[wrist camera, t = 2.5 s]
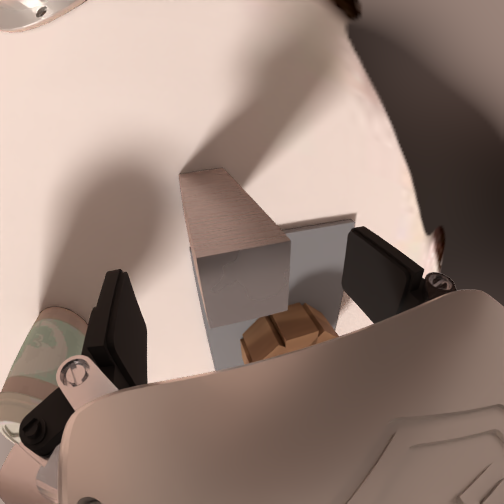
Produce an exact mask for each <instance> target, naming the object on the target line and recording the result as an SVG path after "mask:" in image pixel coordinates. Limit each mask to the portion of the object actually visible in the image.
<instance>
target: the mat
mask: <svg viewBox="0 0 504 504" xmlns="http://www.w3.org/2000/svg"><path fill="white" fill-rule="evenodd" d="M354 225H355V222H354V221H353V220H351V219H349V220H343V221H337V222H330V223H324V224H318V225H312V226H306V227H300V228H294V229H288V230H282V231H283V232H284V233H285V234H286V236H287V237H288V238H289V239H290V240H291V254H290V277H289V297H288V305H291V304H295V303H299V302H300V304H301V305H303V304H304V303H307V304H308V305H310V306H311V307H313V308H315V309H316V310H318V311H320V312H321V313H322V314H323V315H324V317H325V318H326V319H327V321H328V322H329V323H330V325H331V326H332V328H333V329H334V330H335V327H336V323H337V319H338V314H339V310H340V305H341V300H342V296H343V291H344V290H343V288H342V284H341V281H342V274H343V268H344V261H345V253H346V245H347V237H348V233H349V232H350V231H351V229H352V228H354ZM190 253H191V259H192V264H193V270H194V275H195V280H196V286H197V291H198V296H199V300H200V305H201V310H202V315H203V319H204V324H205V328H206V333H207V337H208V342H209V346H210V350H211V354H212V358H213V362H214V367H215V371H218V370H222V369H227V368H231V367H236V366H240V365H244V362H243V359H242V353H241V344H240V339H243V335H242V334H243V333H244V332H245V331H246V330H247V329H248V328H249V327H250V326H251V325H252V324H253V323H254V322H255V321H256V320H257V319H258V318H256V319H251V320H247V321H243V322H239V323H234V324H230V325H225V326H221V327H216V328H211V329H210V328H209V324H208V320H207V316H206V312H205V308H204V304H203V300H202V296H201V292H200V288H199V283H198V279H197V274H196V270H195V265H194V261H193V256H192V251H191V247H190ZM268 316H269V317H270V315H268Z"/></svg>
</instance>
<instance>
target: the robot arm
mask: <svg viewBox="0 0 504 504" xmlns="http://www.w3.org/2000/svg"><path fill="white" fill-rule="evenodd" d="M84 1H86V0H0V31H4V32H9V33H12V32H23V31H26V30H30V29H34V28H37V27H39V26H41V25H44V24H46V23H49V22H51V21H53V20H55V19H56V18H58V17H60V16H62V15H64V14H66V13H67V12H69V11H71V10H72V9H74V8H75V7H77V6H79V5H80V4H82V3H83V2H84ZM423 272H424V269H423V268H422V267H421V266H419V265H418V264H417V263H415V262H414V261H413V260H411V259H410V258H409V257H407V256H406V255H404V254H403V253H402V252H400V251H399V250H398V249H396V248H395V247H393V246H392V245H391V244H389V243H388V242H386V241H385V240H383V239H382V238H381V237H379V236H378V235H376V234H375V233H373V232H372V231H370V230H369V229H367V228H366V227H364V226H362V227H356V228H352V229H351V231H350V232H349V233H348V237H347V245H346V253H345V261H344V268H343V274H342V281H341V284H342V288H343V290H344V291H345V292H346V293H347V294H348V295H349V296H350V297H351V298H352V300H353V301H354V302H355V303H356V304H357V305H358V306H359V307H360V308H361V309H362V311H363V312H364V313H365V314H366V315H367V316H368V317H369V318H370V320H371V321H372V322H373V323H374V324H372V325H370V326H367V327H364V328H362V329H359V330H356V331H353V332H351V333H348V334H345V335H342V336H339V337H337V338H334V339H331V340H328V341H325V342H322V343H319V344H315V345H312V346H309V347H306V348H303V349H299V350H296V351H293V352H289V353H286V354H282V355H279V356H275V357H271V358H268V359H264V360H260V361H256V362H252V363H248V364H244V365H240V366H236V367H231V368H227V369H222V370H218V371H213V372H208V373H203V374H198V375H193V376H188V377H182V378H177V379H171V380H166V381H160V382H155V383H149V384H147V328H146V324H145V322H144V319H143V316H142V314H141V311H140V308H139V305H138V303H137V300H136V297H135V294H134V291H133V288H132V285H131V282H130V279H129V276H128V274H127V272H123V271H122V270H121V269H118V270H113V271H108V272H107V273H106V276H105V279H104V283H103V286H102V289H101V292H100V296H99V299H98V303H97V307H94V308H93V310H92V312H91V316H90V320H89V323H88V327H87V331H86V335H85V339H84V344H83V348H82V353H81V355H76V356H72V357H70V358H68V359H66V360H65V361H64V362H63V363H62V364H61V365H60V367H59V368H58V370H57V373H56V381H57V384H58V386H59V387H58V388H57V389H56V390H54V391H53V392H52V393H51V394H50V395H49V396H48V397H46V398H45V399H44V400H43V401H42V402H41V403H40V404H38V405H37V406H36V407H35V408H34V409H33V410H32V411H31V412H29V413H28V414H27V415H26V416H25V417H24V418H23V420H22V422H21V424H20V427H19V437H20V439H21V442H20V443H19V444H17V443H16V442H15V444H14V446H13V447H12V449H11V451H10V453H9V455H8V456H7V458H6V460H5V462H4V464H3V465H2V467H1V469H0V498H1V499H2V500H3V502H4V503H5V504H504V307H503V306H502V305H501V304H499V303H498V302H497V301H496V300H495V299H493V298H492V297H490V296H489V295H488V294H486V293H485V292H483V291H479V290H472V289H469V290H459V291H457V290H456V287H455V284H454V282H453V281H452V280H451V278H449V277H448V276H446V275H444V274H441V273H437V272H432V273H429V274H427V275H426V277H425V279H423V278H422V276H423Z"/></svg>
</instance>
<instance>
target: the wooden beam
mask: <svg viewBox="0 0 504 504" xmlns="http://www.w3.org/2000/svg"><path fill="white" fill-rule="evenodd" d="M179 181H180V189H181V196H182V203H183V210H184V216H185V222H186V227H187V232H188V237H189V242H190V247H191V251H192V256H193V261H194V265H195V270H196V274H197V279H198V283H199V288H200V292H201V296H202V300H203V304H204V308H205V312H206V316H207V320H208V324H209V328H210V329H211V328H216V327H221V326H225V325H230V324H234V323H239V322H243V321H247V320H251V319H256V318H260V317H264V316H268V315H272V314H276V313H280V312H284V311H287V310H288V297H289V277H290V254H291V240H290V239H289V238H288V237H287V236H286V234H285V233H284V232H283V231H282V230H281V229H280V228H279V227H278V226H277V225H276V224H275V222H274V221H273V220H272V219H271V218H270V217H269V216H268V215H267V214H266V213H265V212H264V211H263V209H262V208H261V207H260V206H259V205H258V204H257V203H256V202H255V201H254V200H253V199H252V198H251V197H250V196H249V195H248V194H247V192H246V191H245V190H244V189H243V188H242V187H241V186H240V185H239V184H238V183H237V182H236V181H235V180H234V179H233V178H232V177H231V176H230V175H229V174H228V173H227V172H226V171H225V170H224V168H218V169H210V170H203V171H196V172H190V173H183V174H179Z"/></svg>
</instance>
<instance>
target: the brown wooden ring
mask: <svg viewBox="0 0 504 504" xmlns="http://www.w3.org/2000/svg"><path fill="white" fill-rule="evenodd" d="M242 335H243V339H240V344H241V353H242V359H243V362H244V364H248V363H252V362H256V361H260V360H264V359H268V358H271V357H275V356H279V355H282V354H286V353H289V352H293V351H296V350H299V349H303V348H306V347H309V346H312V345H315V344H319V343H322V342H325V341H328V340H331V339H334V338H337V337H339V336H338V334H337V333H336V332H335V330H334V329H333V328H332V326H331V325H330V323H329V322H328V321H327V319H326V318H325V317H324V315H323V314H322V313H321V312H320V311H318V310H316V309H315V308H313V307H311V306H310V305H308V304H307V303H304V304H303V305H301V304H300V302H299V303H295V304H291V305H288V310H287V311H284V312H280V313H276V314H272V315H270V317H269V316H264V317H260V318H258V319H257V320H256V321H255V322H254V323H253V324H252V325H251V326H250V327H249V328H248V329H247V330H246V331H245V332H244V333H243V334H242Z"/></svg>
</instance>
